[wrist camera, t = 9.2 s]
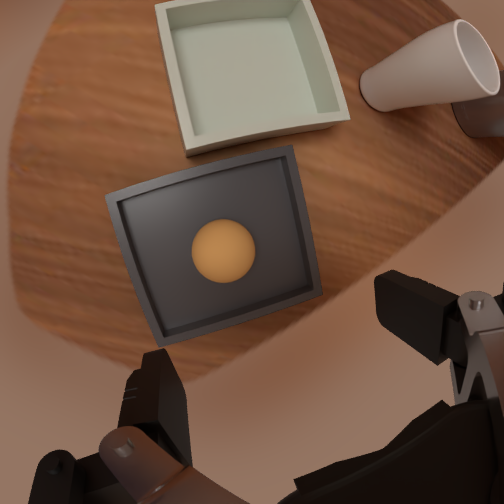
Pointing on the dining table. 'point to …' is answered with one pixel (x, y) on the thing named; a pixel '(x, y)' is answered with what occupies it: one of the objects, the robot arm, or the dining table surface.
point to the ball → (223, 251)
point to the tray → (199, 214)
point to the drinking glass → (434, 70)
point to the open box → (247, 71)
